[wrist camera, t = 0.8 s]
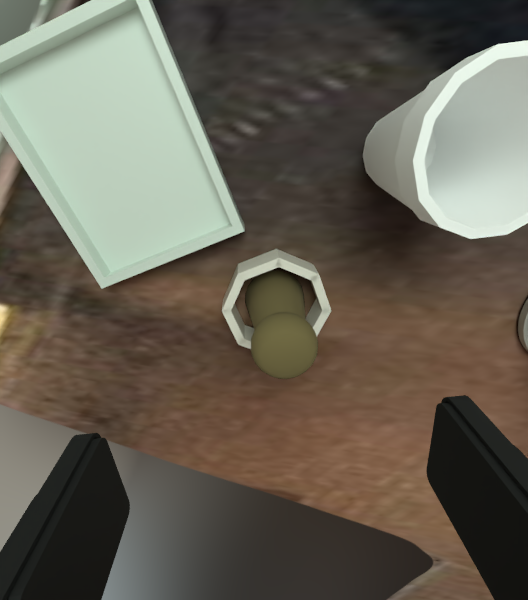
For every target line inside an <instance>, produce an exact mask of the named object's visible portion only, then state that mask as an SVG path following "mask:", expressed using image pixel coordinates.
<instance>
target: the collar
mask: <svg viewBox="0 0 528 600" xmlns="http://www.w3.org/2000/svg"><path fill="white" fill-rule="evenodd" d="M278 267H280V268H282V269H285V270H287V271H290V272H292V273H295V274H297V275H299V276H302V277H304V278H307V279H309V280H310V282H311V285H312V288H313V291H314V293H315V296H316V300H315V301H314V303H313V305H312V307H311V309H310V311H309V313H308V314H307V316H306V321H308V322H309V323H310V325H311V326H312V328H313V329H314V331H315V333H316V336H317V335H318V333H319V332H320V330H321V328H322V326H323V325H324V323H325V321H326V319H327V318H328V316H329V314H330V312H331V308H330V305H329V302H328V299H327V296H326V294H325V291H324V288H323V285H322V282H321V279H320V276H319V273H318V272H317V270H316V268H315V267H314V265H313V264H311V263H309V262H306V261H304V260H302V259H299V258H297V257H295V256H292V255H290V254H287V253H285V252H283V251H280V250H278V249H275V250H272V251H270V252H267V253H265V254H262V255H259V256H257V257H254V258H252V259H249V260H247V261H244V262H242V263H239V264H238V266H237V268H236V270H235V273H234V275H233V277H232V280H231V282H230V285H229V287H228V289H227V292H226V294H225V296H224V299H223V306H222V312H223V315H224V317H225V319H226V321H227V323H228V325H229V327H230V329H231V331H232V333H233V335H234V337H235V339H236V341H237V343H238V345H241V346H243V347H246V348H249V349H251V338H252V335H253V333H254V328H252V327H249V326H246V325H244V322H243V320H242V318H241V316H240V314H239V312H238V310H237V308H236V305H235V301H236V299H237V296H238V294H239V292H240V290H241V287H242V285H243V283H244V281H245V280H247V279H249V278H252V277H255V276H257V275H260V274H262V273H265V272H268V271H270V270H273V269H275V268H278Z"/></svg>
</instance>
